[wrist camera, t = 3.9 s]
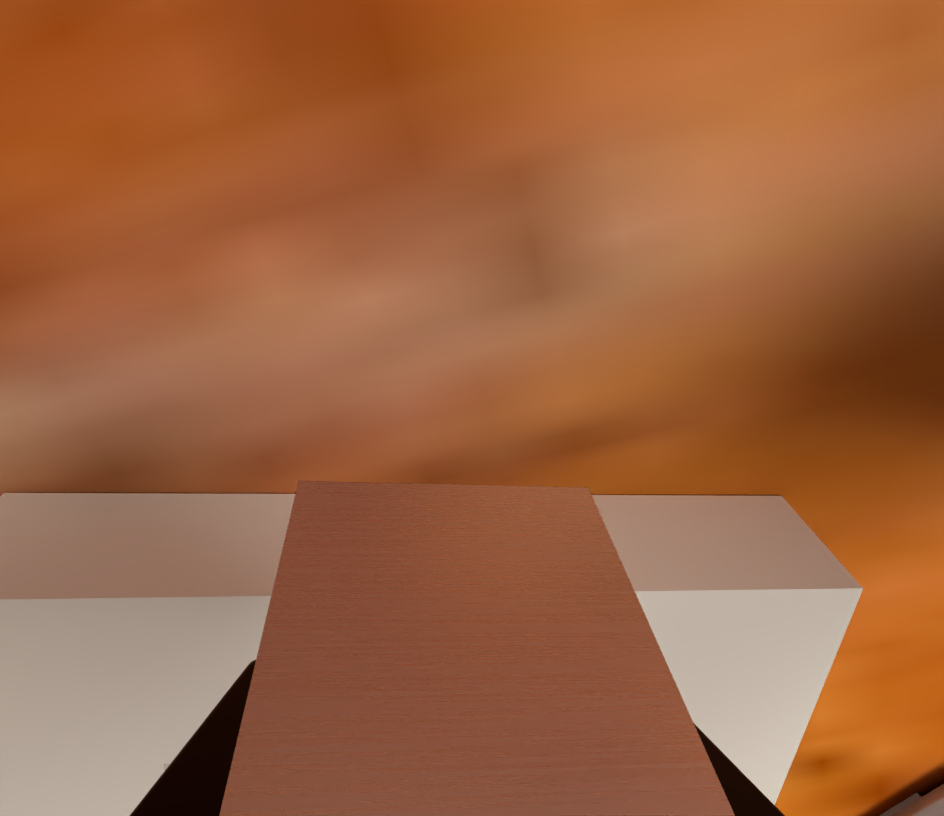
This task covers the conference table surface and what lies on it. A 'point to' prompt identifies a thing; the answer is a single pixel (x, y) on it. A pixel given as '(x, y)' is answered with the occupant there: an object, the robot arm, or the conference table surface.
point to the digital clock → (920, 805)
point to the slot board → (247, 601)
